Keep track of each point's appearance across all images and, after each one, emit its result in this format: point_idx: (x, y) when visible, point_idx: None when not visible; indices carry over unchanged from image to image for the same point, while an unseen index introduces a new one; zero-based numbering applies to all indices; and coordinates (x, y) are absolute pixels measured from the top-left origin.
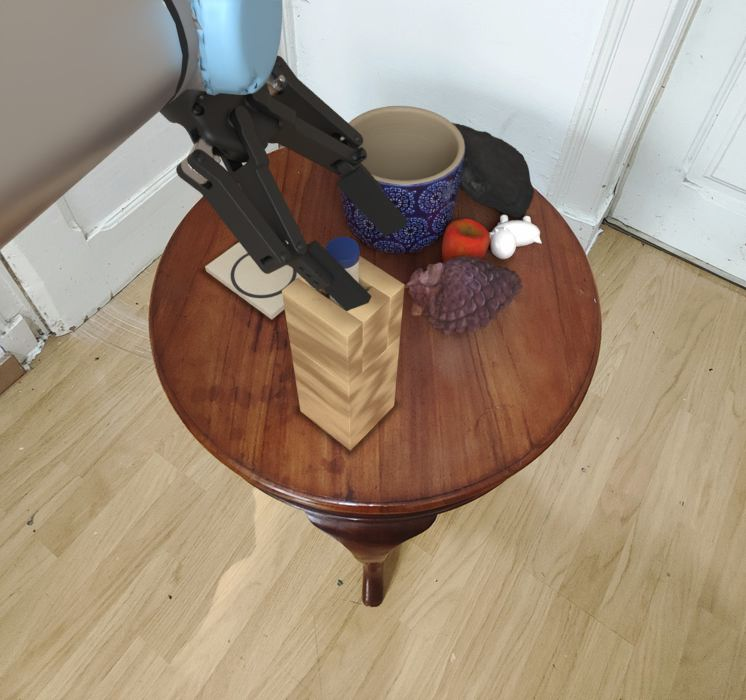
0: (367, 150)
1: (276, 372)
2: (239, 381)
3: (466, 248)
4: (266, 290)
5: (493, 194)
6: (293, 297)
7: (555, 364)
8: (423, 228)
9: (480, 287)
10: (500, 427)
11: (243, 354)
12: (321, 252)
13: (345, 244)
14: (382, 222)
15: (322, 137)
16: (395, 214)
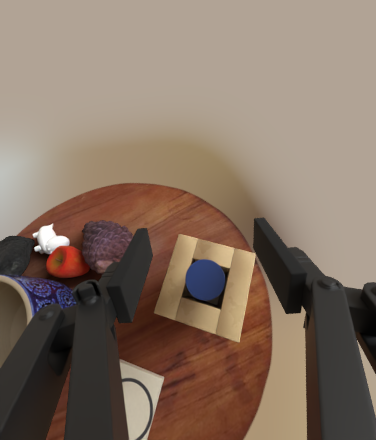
0: None
1: (203, 347)
2: (221, 371)
3: (74, 256)
4: (142, 397)
5: (22, 251)
6: (241, 324)
7: (135, 196)
8: (63, 291)
9: (110, 231)
10: (182, 208)
11: (200, 382)
12: (292, 261)
13: (197, 278)
14: (147, 255)
15: (87, 371)
16: (142, 236)
